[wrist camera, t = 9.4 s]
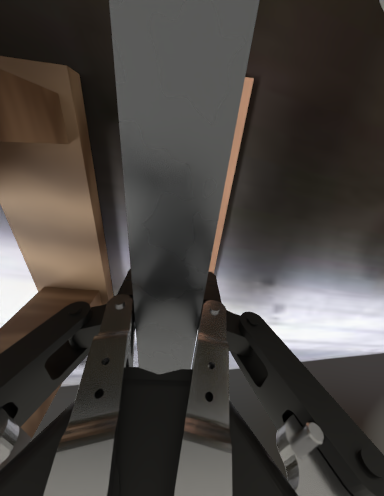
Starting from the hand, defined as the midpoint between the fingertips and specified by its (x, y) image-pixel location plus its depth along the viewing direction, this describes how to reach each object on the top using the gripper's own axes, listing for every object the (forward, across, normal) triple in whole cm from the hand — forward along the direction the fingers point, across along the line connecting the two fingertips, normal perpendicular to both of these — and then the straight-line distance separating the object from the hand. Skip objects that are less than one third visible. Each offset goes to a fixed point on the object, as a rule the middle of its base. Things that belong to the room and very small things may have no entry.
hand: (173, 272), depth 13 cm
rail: (-1, 0, 0) cm, 1 cm away
